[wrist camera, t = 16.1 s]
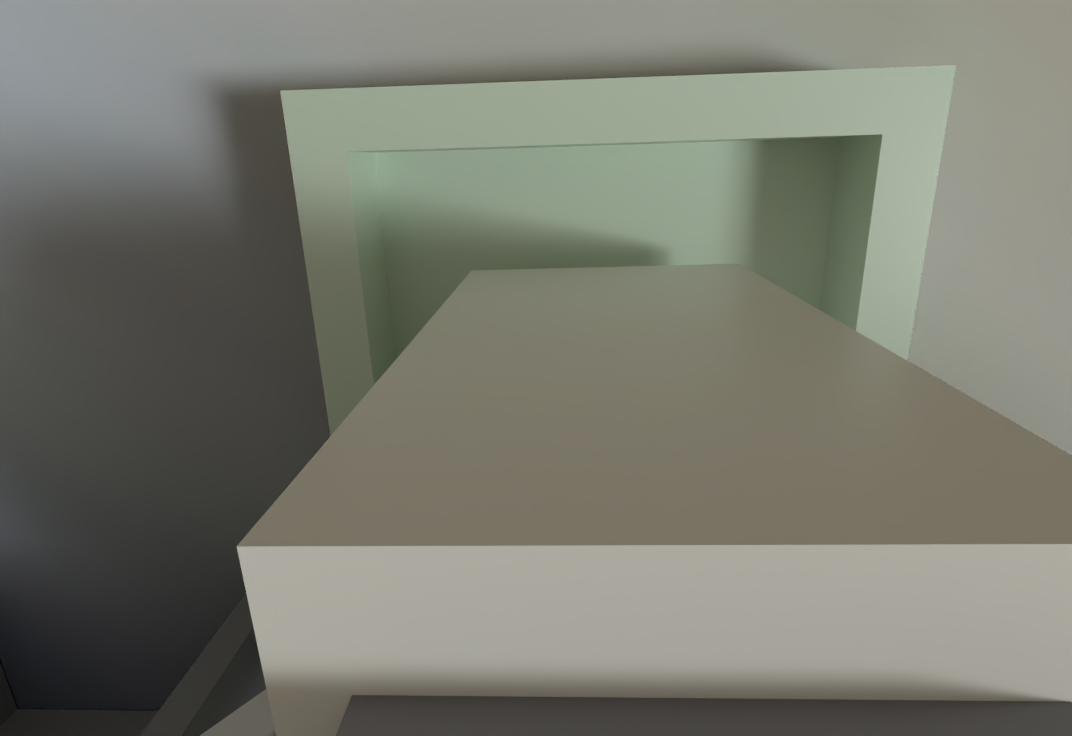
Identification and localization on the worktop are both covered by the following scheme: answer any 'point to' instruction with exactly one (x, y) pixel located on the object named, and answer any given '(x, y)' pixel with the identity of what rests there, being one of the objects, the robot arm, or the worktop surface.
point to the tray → (611, 193)
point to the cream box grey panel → (664, 530)
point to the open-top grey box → (190, 710)
